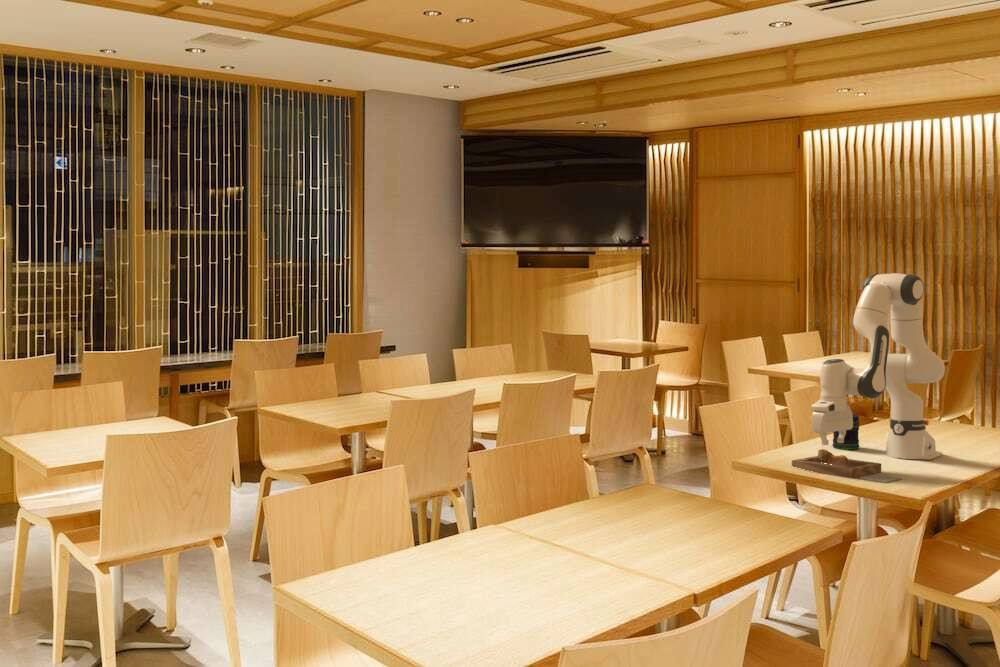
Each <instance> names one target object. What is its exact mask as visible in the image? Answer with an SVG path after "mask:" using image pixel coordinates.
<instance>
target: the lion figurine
mask: <svg viewBox="0 0 1000 667" xmlns="http://www.w3.org/2000/svg"><path fill="white" fill-rule="evenodd" d="M817 456H818V458H819V459H820V460H822V461H823V463H827V464H831V463H833V464H837V463H840V462H841V463H842V465H843V466H844V467H850V464H849V460H848V459H849V458H848V457H847V456H846V455H843V454H840V455H839V454H838V455H834V453H832V452H831V451H828V450H827V449H825V448H821V449H818V450H817ZM846 460H847V462H848V465H849V466H848V465H847V464H846ZM850 468H851V467H850Z"/></svg>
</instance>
